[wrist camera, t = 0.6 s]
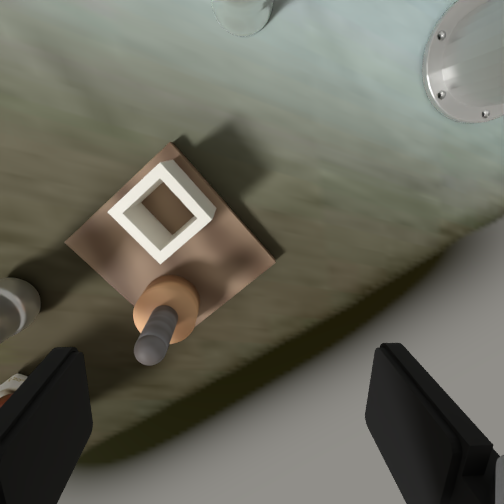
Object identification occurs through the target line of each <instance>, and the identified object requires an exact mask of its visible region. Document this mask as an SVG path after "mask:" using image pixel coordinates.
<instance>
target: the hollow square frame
mask: <svg viewBox="0 0 504 504" xmlns="http://www.w3.org/2000/svg"><path fill="white" fill-rule="evenodd" d="M163 182H164V183H165V184H166V185H167V186H168V187H169V189H170V190H171V191H172V192H173V193H174V194H175V195H176V196H177V197H178V198H179V199H180V200H181V201H182V203H183V204H184V205H185V206H186V207H187V208H188V209H189V210H190V211H191V212H192V213H193V214H194V217H193V218H191V219H190V220H189V221H188V222H187V223H186V224H185V225H183V226H182V227H181V228H180V229H179V230H178V231H177V232H176V233H174V234H173V235H172V234H171V233H170V232H169V231H168V230H167V229H166V228H165V227H164V226H163V225H162V224H161V223H160V222H159V221H158V220H157V219H156V218H155V217H154V216H153V215H152V214H151V213H150V212H149V211H148V209H147V208H146V207H145V206H144V205H143V204H142V203H141V202H142V201H143V200H144V199H145V198H146V197H147V196H149V195H150V194H151V193H152V192H153V191H154V190H155V189H156V188H157V187H158V186H159V185H160V184H161V183H163ZM216 209H217V208H216V207H215V206H214V205H213V204H212V203H211V201H210V200H209V199H208V198H207V197H206V196H205V195H204V194H203V193H202V191H201V190H200V189H199V188H198V187H197V186H196V185H195V184H194V182H193V181H192V180H191V179H190V178H189V177H188V176H187V175H186V174H185V172H184V171H183V170H182V169H181V168H180V167H179V166H178V165H177V163H176V162H175V161H174V160H169V161H164V162H160V163H159V164H158V165H157V166H156V167H154V168H153V169H152V170H151V171H150V172H149V173H148V174H147V175H146V176H145V177H144V178H143V179H142V180H141V181H140V182H139V183H137V184H136V185H135V186H134V187H133V188H132V189H131V190H130V191H129V192H128V193H127V194H126V195H125V196H124V197H123V198H122V199H121V200H119V201H118V202H117V203H116V204H115V205H114V206H113V207H112V208H111V209H110V210H109V211H108V213H109V214H110V215H111V216H112V217H113V218H114V219H115V220H116V221H117V222H118V223H119V224H120V225H121V226H122V227H123V228H124V229H125V230H126V231H127V232H128V233H129V234H130V235H131V236H132V237H133V238H134V239H135V240H136V241H137V242H138V243H139V244H140V245H141V246H142V247H143V248H144V249H145V250H146V251H147V252H148V253H149V254H150V255H151V256H152V257H153V258H154V259H155V260H156V261H157V262H158V263H159V264H162V263H163V262H164V261H165V260H166V259H167V258H168V257H170V256H171V255H172V254H173V253H174V252H175V251H177V250H178V249H179V248H180V247H181V246H182V245H184V244H185V243H186V242H187V241H188V240H189V239H190V238H192V237H193V236H194V235H195V234H196V233H197V232H199V231H200V230H201V229H202V228H203V227H204V226H206V225H207V224H208V223H209V222H210V221H211V220H212V219H213V216H214V214H215V211H216Z"/></svg>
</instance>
